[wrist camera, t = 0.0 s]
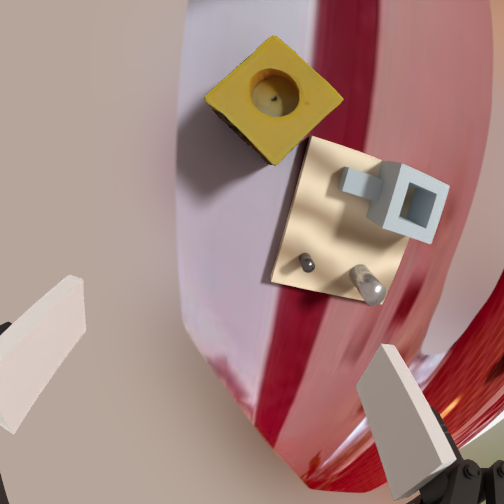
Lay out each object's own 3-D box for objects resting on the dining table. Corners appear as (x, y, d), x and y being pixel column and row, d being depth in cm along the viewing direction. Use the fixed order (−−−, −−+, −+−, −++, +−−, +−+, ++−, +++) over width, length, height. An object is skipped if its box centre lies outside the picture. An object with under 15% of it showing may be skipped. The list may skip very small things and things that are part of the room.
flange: (427, 180, 34) (449, 185, 29) (411, 232, 37) (430, 244, 32) (348, 148, 33) (364, 148, 28) (332, 206, 36) (345, 216, 31)
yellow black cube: (269, 165, 36) (275, 171, 26) (212, 113, 33) (198, 100, 24) (324, 113, 33) (348, 102, 24) (268, 61, 31) (273, 32, 21)
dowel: (300, 251, 38) (304, 259, 35) (312, 254, 38) (316, 262, 35) (297, 262, 38) (300, 271, 36) (308, 264, 38) (312, 274, 36)
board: (309, 136, 34) (311, 135, 33) (421, 178, 36) (427, 180, 34) (270, 276, 41) (271, 281, 39) (378, 299, 42) (382, 304, 41)
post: (353, 262, 38) (370, 282, 32) (371, 266, 39) (389, 286, 32) (346, 281, 39) (360, 303, 33) (364, 284, 40) (380, 307, 33)
